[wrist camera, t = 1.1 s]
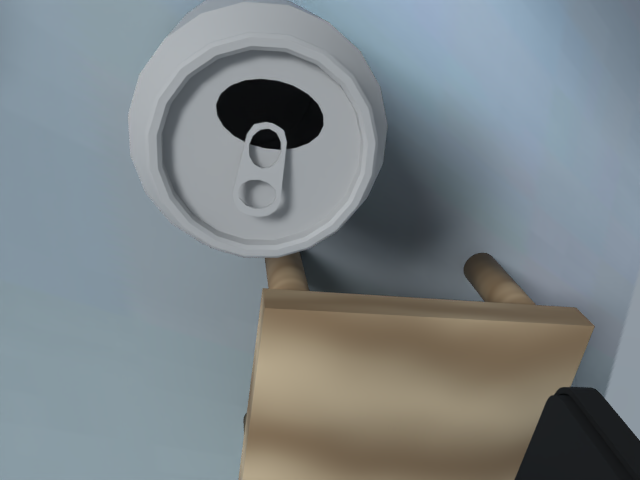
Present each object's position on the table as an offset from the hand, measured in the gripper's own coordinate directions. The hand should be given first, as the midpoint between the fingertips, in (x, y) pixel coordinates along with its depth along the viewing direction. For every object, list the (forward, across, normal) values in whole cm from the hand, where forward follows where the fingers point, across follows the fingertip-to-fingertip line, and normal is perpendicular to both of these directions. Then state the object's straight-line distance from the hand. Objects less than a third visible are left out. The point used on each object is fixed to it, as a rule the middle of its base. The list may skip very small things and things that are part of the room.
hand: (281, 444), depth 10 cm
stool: (+19, -8, +12) cm, 24 cm away
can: (+20, 0, -2) cm, 20 cm away
